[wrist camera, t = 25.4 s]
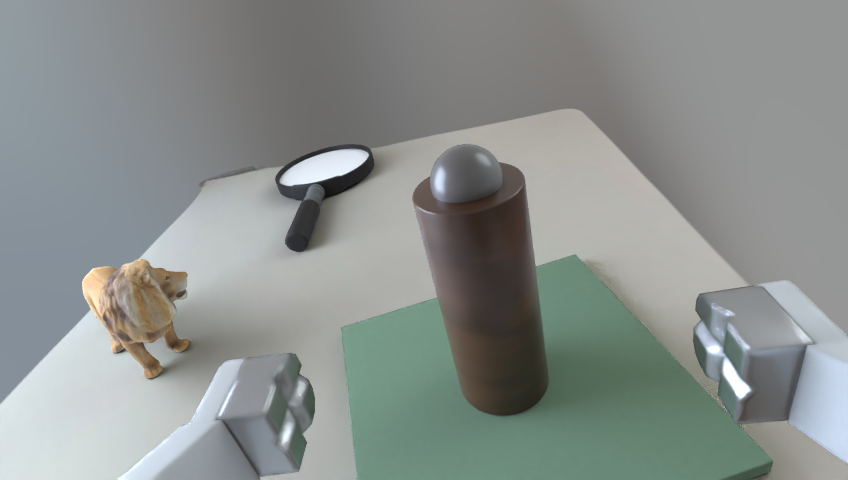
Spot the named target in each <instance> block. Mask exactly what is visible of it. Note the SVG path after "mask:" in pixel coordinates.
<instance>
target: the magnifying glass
mask: <svg viewBox="0 0 848 480" xmlns="http://www.w3.org/2000/svg"><path fill="white" fill-rule="evenodd" d="M373 167H374V159H373V155H372V152H371V150H370V149H369V148H368V147H366V146H363V145H356V144H350V145H349V144H348V145H339V146H333V147H329V148H324V149H321V150H318V151H315V152H312V153H309V154H307V155H304V156H302V157H300V158H298V159H296V160H294V161H292V162H290V163H289V164H288V165H286V166H285V167H283V168H282V169H281V170H280V171H279V172H278V174H277V175H276V178H275V180H276V184H277V186H278V189H279V191H280V193H281V194H282V195H284V196H286V197H289V198H295V199H297V200H303V202H302V203H301V204H300V207H299V209H298V211H297V213H296V216H295V218H294V220H293V222H292V225H291V227H290V229H289V231H288V234H287V236H286V239H285V243H286V245H287V247H288V248H289V249H291V250H293V251H302V250H304V249H305V248H306V247H307V245H308V243H309V240H310V237H311V234H312V231H313V229H314V226H315V223H316V220H317V218H318V215H319V212H320V206H321V201H322V200H323V198H324V197H326V196H330V195H333V194H336V193H339V192H341V191H343V190H345V188H347V187H349V186H351V185H353V184H355V183H357V182H358V181H360V180H362V179H363V178H364V177H366V176H367V175H368V174H369V173H370V172H371V171H372V169H373Z"/></svg>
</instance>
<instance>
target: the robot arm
mask: <svg viewBox="0 0 848 480" xmlns="http://www.w3.org/2000/svg"><path fill="white" fill-rule="evenodd" d="M695 310H696V312H697V314H698V315H699V317H700V318H701V320H700V322H699V323H698V324H697V325H696V326H695V327H694V333H693V343H694V348H695V353H696V356H697V359H698V361H699V364H700V366H701V368H702V369H703V371H704V373H705V375H706V376H707V377H709V378H711V379H713V380H714V381H716V382H718V383H719V388H718V396H719V398H720V399H721V401H722V403H723V404H724V406H725V408H726V409H727V411H728V412H729V414H730V416H731V417H732V419H733V421H734V422H735V424H749V423H761V422H773V421H785V420H788V423H789V424H790V425H792V426H793V427H795V428H796V429H798V430H799V431H800V432H802V433H803V434H805V435H806V436H808V437H809V438H811V439H812V440H814V441H815V442H817V443H818V444H819V445H821V446H822V447H824V448H825V449H827V450H828V451H830V452H831V453H833V454H834V455H835V456H837V457H838V458H840V459H841V460H843V461H844V462H846V463H847V464H848V336H847V335H846V334H845V333H844V332H843V331H842V330H841V329H840V328H839V327H838V326H837V325H836V324H835V323H834V322H833V321H832V320H831V319H830V318H829V317H827V315H825V313H824V312H822V311H821V310H820V309H819V308H818V307H817V306H816V305H815V304H814V303H813V302H812V301H811V300H810V299H809V298H808V297H807V296H806V295H805V294H804V293H803V292H802V291H801V290H800V289H799V288H798V287H797V286H796V285H795V284H794V283H792V282H790V281H787V280H783V281H777V282H771V283H764V284H758V285H756V286H748V287H741V288H734V289H728V290H721V291H715V292H708V293H701V294H699V296H698V298H697V300H696V308H695ZM300 369H301V363H300V361H299V359H298V358H297V356H296V354H293V353H283V354H275V355H266V356H258V357H249V358H246V359H237V360H228V361H225V362H224V363H223V364H221V365H220V367H219V369H218V371H217V373H216V375H215V377H214V378H213V380H212V382H211V384H210V386H209V388H208V390H207V392H206V394H205V396H204V398H203V400H202V401H201V403H200V405H199V407H198V409H197V411H196V413H195V415H194V417H193V419H192V421H191V423H190V424H183V425H182V426H181V427H180V428H178V429H177V430H176V431H175V432H174V433H172V434H171V435H170V436H169V437H168V438H167V439H165V440H164V441H163V442H162V443H161V444H159V445H158V446H157V447H156V448H155V449H154V450H152V451H151V452H150V453H149V454H148V455H146V456H145V457H144V458H143V459H142V460H141V461H139V462H138V463H137V464H136V465H135V466H133V467H132V468H131V469H130V470H129V471H127V472H126V473H125V474H124V475H123V476H122V477H120V478H119V479H118V480H260V478H259V477H264V476H271V475H278V474H285V473H293V472H299V470H300V466H301V462H302V459H303V455H304V451H305V448H306V444H307V442H306V440H305V438H304V436H303V433H304V432H305V431H306V430H307V428H308V427H309V426H310V425H311V424H312V421H313V417H314V413H315V397H314V392H313V388H312V386H311V384H310V382H309V380H308V379H307V378H305V377H304V376H302V375H300V374H299V372H300Z"/></svg>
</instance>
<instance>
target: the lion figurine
mask: <svg viewBox="0 0 848 480" xmlns="http://www.w3.org/2000/svg"><path fill="white" fill-rule="evenodd" d="M82 286H83V294H84V297H85V299H86V300H87V302H88V304H89V306H90V308H91V310H92V311H93V313H94V314H95V315H96V317H97V318H98V319H99V320H100V321H101V322H102V323H103V325H104V326H105V327H106V328H107V331H108V333H109V335H110V338H111V341H112V346H111V350H112V352H113V353H118V352H120V351H121V350H122V349H124V348H125V349H126V350H127V351H128V352H129V353H130V354H131V355H132V356H133V357H134V358H135V359H136V360H137V361H138V362H139V363H140V364H141V365H142V367H143V368H144V376H145V377H146V378H153V377H156V376H157V375H158V374H160V373H161V372H162V367H161V366H160V363H159V361H158V360H157V359H155V358H154V357H153V356H151V355H150V354H149V352H148V351H147V350H146V349H145V347H144V344H143V342H145V343H147V342H148V343H152V342H154V341H156V340H157V339H159V338H161V337H162V336H163V338H164V341H165V344H166V346H167V348H168V349H169V350H172V351H174V352H182V351H184V350H186V349H187V347H188V345H189V340H188V339H182V340H181V339H179V338H178V337H177V336H176V334H175V331H174V328H173V324H172V319H173V318H174V316H175V315H176V313H177V310H176V307H175V305H174V303H173V301H175V300H179V299H185V298H186V297H187V292H186V287H187V273H186V272H172V271H166V270H164V269H163V268H152V267H151V266H150V264H149V262H148V261H146V260H142V259H141V260H140V259H137V260H134V261H133V262H132V263H129V264H124V265H123V266H122V267H121V268H120V269H116V268H114V267H112V266H105V267H99V268H94V269H92V270H91V271H90V272H89V274H87V275H86V277H85V278H84V280H83V283H82Z"/></svg>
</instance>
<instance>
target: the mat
mask: <svg viewBox="0 0 848 480" xmlns="http://www.w3.org/2000/svg"><path fill="white" fill-rule="evenodd" d="M536 275H537V283H538V292H539V300H540V308H541V317H542V325H543V333H544V341H545V350H546V358H547V366H548V375H549V383H548V388H547V390H546V392H545V394H544V396H543V397H542V398H541V400H540V401H539V402H538V403H537V404H536V405H534V406H533V407H531V408H530V409H528V410H526V411H523V412H521V413H518V414H514V415H506V416H499V415H491V414H487V413H484V412H482V411H479V410H478V409H476V408H474V407H473V406H472V405H471V404H470V403H469V402H468V401H467V400H466V399H465V397H464V396H463V393H462V391H461V387H460V383H459V379H458V375H457V371H456V368H455V364H454V360H453V356H452V352H451V348H450V344H449V340H448V336H447V332H446V329H445V325H444V321H443V317H442V313H441V309H440V305H439V301H438V297H437V298H434V299H431V300H428V301H424V302H421V303H418V304H415V305H412V306H408V307H405V308H402V309H399V310H396V311H392V312H389V313H386V314H383V315H380V316H376V317H373V318H370V319H367V320H364V321H360V322H357V323H354V324H351V325H348V326H344V327H342V328H341V330H342V340H343V349H344V359H345V369H346V378H347V388H348V398H349V407H350V417H351V427H352V436H353V446H354V456H355V465H356V475H357V480H749V479H751V478H754V477H757V476H760V475H763V474H765V473H768V472H770V471H771V468H772V463H773V461H772V459H771V458H770V457H769V456H768V455H767V454H766V453H765V452H764V451H763V450H762V449H761V448H760V447H759V446H758V445H757V444H756V443H755V442H754V441H753V440H752V439H751V438H750V437H749V435H748V434H747V433H746V432H745V431H744V430H743V429H742V428H741V427H740V426H739V425H738V424H735V422H734V421H733V419H732V418H731V417H730V416H729V415H728V414H727V413H726V411H725V410H724V409H723V408H722V407H721V406H720V405H719V404H718V403H717V402H716V401H715V400H714V399H713V398H712V397H711V396H710V395H709V394H708V393H707V392H706V391H705V390H704V388H703V387H702V386H701V385H700V384H699V383H698V382H697V381H696V380H695V379H694V378H693V377H692V376H691V375H690V374H689V373H688V372H687V371H686V370H685V369H684V368H683V367H682V366H681V364H680V363H679V362H678V361H677V360H676V359H675V358H674V357H673V356H672V355H671V354H670V353H669V352H668V351H667V350H666V349H665V348H664V347H663V346H662V345H661V344H660V343H659V342H658V340H657V339H656V338H655V337H654V336H653V335H652V334H651V333H650V332H649V331H648V330H647V329H646V328H645V327H644V326H643V325H642V324H641V323H640V322H639V321H638V320H637V319H636V318H635V316H634V315H633V314H632V313H631V312H630V311H629V310H628V309H627V308H626V307H625V306H624V305H623V304H622V303H621V302H620V301H619V300H618V299H617V298H616V297H615V296H614V295H613V293H612V292H611V291H610V290H609V289H608V288H607V287H606V286H605V285H604V284H603V283H602V282H601V281H600V280H599V279H598V278H597V277H596V276H595V275H594V274H593V273H592V272H591V271H590V269H589V268H588V267H587V266H586V265H585V264H584V263H583V262H582V261H581V260H580V259H579V258H578V257H577V256H576V255H572V256H568V257H565V258H562V259H559V260H556V261H552V262H549V263H546V264H543V265H540V266H536Z"/></svg>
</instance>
